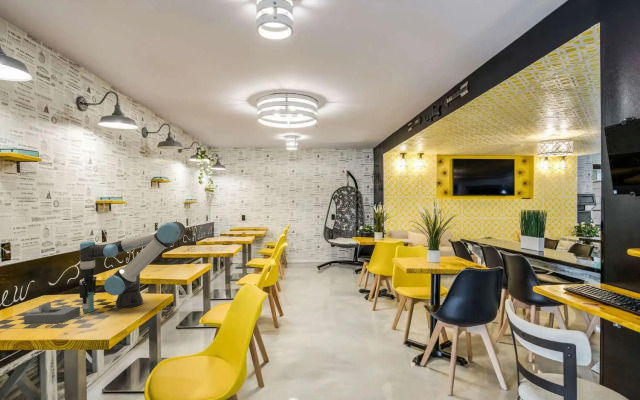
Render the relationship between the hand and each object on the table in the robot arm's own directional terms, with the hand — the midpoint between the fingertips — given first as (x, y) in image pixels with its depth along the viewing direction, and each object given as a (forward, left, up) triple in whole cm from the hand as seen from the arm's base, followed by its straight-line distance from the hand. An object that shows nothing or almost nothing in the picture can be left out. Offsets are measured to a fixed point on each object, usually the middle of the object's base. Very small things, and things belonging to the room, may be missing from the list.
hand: (88, 307), depth 202 cm
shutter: (+20, +11, +2) cm, 23 cm away
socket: (+12, +11, -3) cm, 17 cm away
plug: (0, 0, -2) cm, 2 cm away
